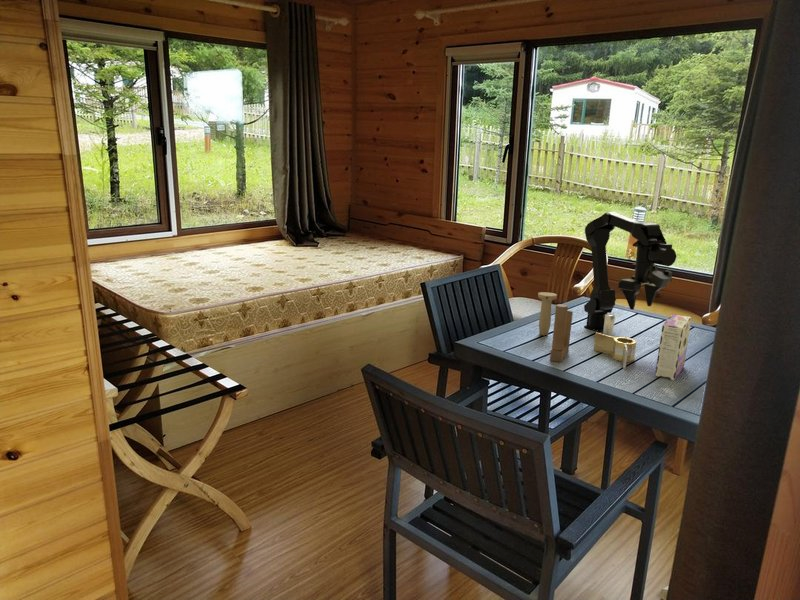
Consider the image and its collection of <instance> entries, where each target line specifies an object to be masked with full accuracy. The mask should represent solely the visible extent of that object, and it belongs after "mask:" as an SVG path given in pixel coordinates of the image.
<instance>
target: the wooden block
mask: <svg viewBox="0 0 800 600" xmlns="http://www.w3.org/2000/svg"><path fill="white" fill-rule="evenodd" d="M568 307H569V306H568V305H566V304H562V303H561V304H560V303H559V304H558V303H557V304H556V305H555V309H554V310H555V311H554V312H555V313H554V323H553V333H552V342H551V350H550V354H549V361H552V362H556V363H562V362H563V360H564V359H565V357H566V356H567V355H568V353H569V349H570V340H571V330H572V323H573V321H572V320H573V313H574V312H573V311H571V310H568Z"/></svg>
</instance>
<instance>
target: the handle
mask: <svg viewBox="0 0 800 600" xmlns="http://www.w3.org/2000/svg"><path fill="white" fill-rule="evenodd" d="M537 297H538V298H539V300H541V306H540V307H541V308H540V312H539V319H538V320H539V321H538V330H539V331H538V334H539V335H540V336H543V337H544V336H545V335H547V336H548V335H549V332H550V328H551V323H552V302H553V301H555V300H556V299H557V297H558V294H556V293H554V292H545V291H543V292H542V291H541V292H537Z"/></svg>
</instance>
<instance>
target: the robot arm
mask: <svg viewBox="0 0 800 600" xmlns="http://www.w3.org/2000/svg"><path fill="white" fill-rule="evenodd" d="M615 228H617V229H621V230H623V231H625V232H628V233H630V235H631V236H632V238H634V239H635V240H636V241H635V242H634V243H632V247H636V254H635V255H636V256H635V263H632V268H634V274H633V275H632V276H631V278H624V279H620V280H619V281H618V282H617V283H618V284H617V288H618V289H619V290H620V291H622V293H623V295H624V297H625V299H626V302H627V304H628V307H629V309H630V310H632V311H633V310H635V305H636V302H637V295H638V294H639V293H640V292H641V290H640V289H641V287H642V286H643V287H644V293H645V300H646V301H645V302H646V305H647V307H651V306H652V305H653V302H654V301H655V298H656V296H657V295H658V292H659V291H660V290H661V289H664V288H666V287H667V286H668V284H669V283H671V282H672V281H673V279H672V278H673V272H672V271H670V270H665V271H660V270H658V265H659V266H665V267H670V266H672V265H674V263H675V262H676V260H677V253H676V250H675V249H674V248H673V244H671V243H667V240H666V238H665V236H664V233H663V231H662V230H661V226H660V224H659V223H656V222H650V221H649V222H647V221H646V222H645V221H639V220H636V219H633V218H631V217H628V216H625V215H622V214H620V213H619V212H616V211H609V212H607V211H606V212H605V213H603V214H602V215H601V216H599V217H597V218H595V219H593V220H591V221H590V222H588V223H587V224H586V226H585V227H584V233H585V239H586V242H587V243H588V244H589V246H590V248H591V259H592V261H591V262H592V273H593V274H592V275H593V288H592V290H591V291H590V294H589V295H590V296H589V300H588V301H587V302H586V303H585V304H584V306H583V309H584V312H586V313H587V316H586V317H587V318H586V325H584V326H583V327H584V329H588V330H592V331H596V332H602V331H603V330H604V322H605V314H612V311H613V309H614V307H615V306H616V301H617V298H616V291H615V289H612V288H611V286H610V285H609V284H610V283H609V274H608V273H609V272H608V261H607V258H608V257H607V244H608V242H609V240H610V237H611V236H610V235H611V234H610V233H611V232H612V231H614V229H615Z"/></svg>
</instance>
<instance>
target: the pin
mask: <svg viewBox="0 0 800 600" xmlns="http://www.w3.org/2000/svg"><path fill="white" fill-rule="evenodd" d="M615 320H616V315H615V314H613V313H608V314H605V322H604V330H602V331H603V332H602V334H604V335H608V336H612V337H614V327H615Z"/></svg>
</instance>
